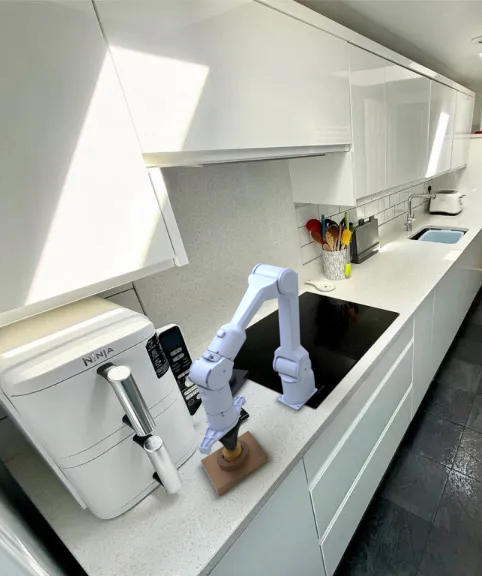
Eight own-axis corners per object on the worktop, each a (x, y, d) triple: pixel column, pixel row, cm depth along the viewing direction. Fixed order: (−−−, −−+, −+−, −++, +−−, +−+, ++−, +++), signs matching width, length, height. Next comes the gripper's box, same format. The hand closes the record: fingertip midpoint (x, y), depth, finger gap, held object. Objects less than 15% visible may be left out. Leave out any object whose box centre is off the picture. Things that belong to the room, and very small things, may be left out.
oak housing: (249, 436, 82) (247, 425, 81) (268, 460, 76) (266, 449, 74) (202, 466, 75) (198, 455, 73) (219, 496, 68) (215, 485, 67)
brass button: (237, 443, 76) (236, 438, 76) (244, 453, 74) (243, 448, 73) (221, 453, 74) (219, 448, 73) (228, 464, 71) (226, 459, 71)
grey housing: (222, 372, 105) (220, 363, 104) (249, 375, 104) (247, 366, 102) (199, 398, 95) (196, 388, 93) (229, 402, 93) (226, 392, 91)
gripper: (222, 380, 74) (233, 420, 80) (179, 430, 61) (195, 473, 67) (249, 383, 73) (258, 424, 79) (211, 435, 60) (225, 479, 66)
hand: (231, 447), depth 73 cm, fingers closed
